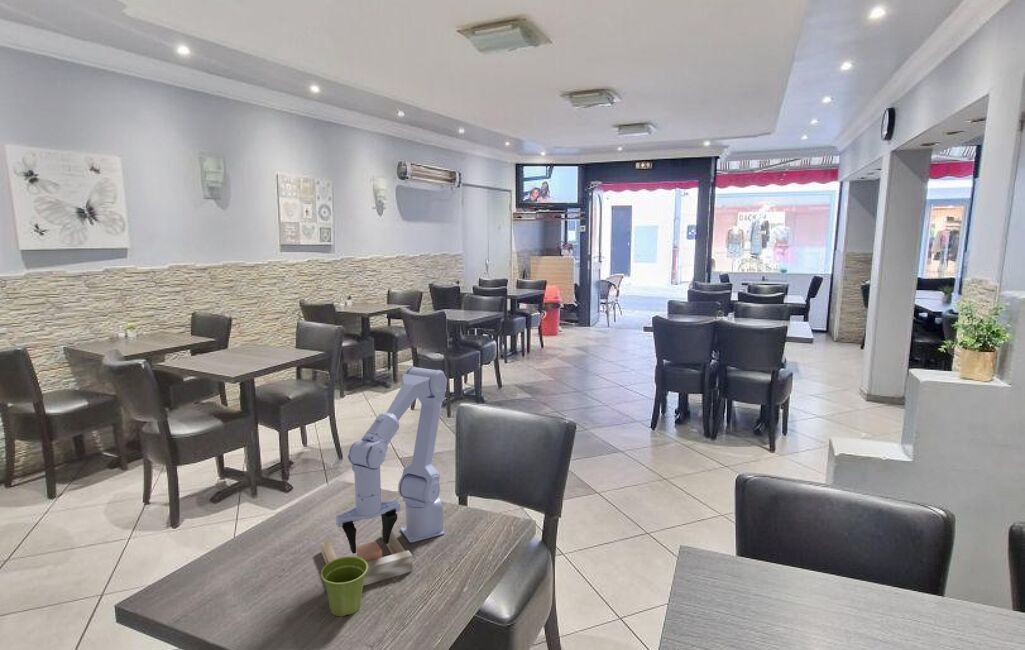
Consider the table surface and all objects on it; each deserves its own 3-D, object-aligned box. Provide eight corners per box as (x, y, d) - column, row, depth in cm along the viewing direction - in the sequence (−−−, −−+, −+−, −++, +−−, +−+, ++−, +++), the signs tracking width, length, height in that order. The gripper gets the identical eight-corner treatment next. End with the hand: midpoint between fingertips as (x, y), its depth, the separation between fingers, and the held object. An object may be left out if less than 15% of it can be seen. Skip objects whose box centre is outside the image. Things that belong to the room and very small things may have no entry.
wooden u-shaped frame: (388, 534, 142) (388, 520, 141) (412, 571, 126) (412, 555, 126) (321, 551, 134) (320, 536, 133) (337, 593, 118) (337, 576, 117)
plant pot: (377, 598, 116) (376, 561, 115) (351, 627, 107) (349, 587, 106) (341, 589, 119) (339, 552, 118) (312, 616, 110) (310, 577, 109)
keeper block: (376, 562, 130) (375, 541, 129) (382, 572, 126) (381, 550, 125) (357, 568, 127) (356, 546, 126) (363, 578, 123) (362, 555, 123)
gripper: (392, 477, 131) (393, 530, 133) (331, 492, 123) (333, 547, 125) (403, 489, 125) (404, 543, 127) (339, 504, 117) (341, 562, 119)
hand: (369, 546), depth 126 cm, fingers open, 7 cm apart
